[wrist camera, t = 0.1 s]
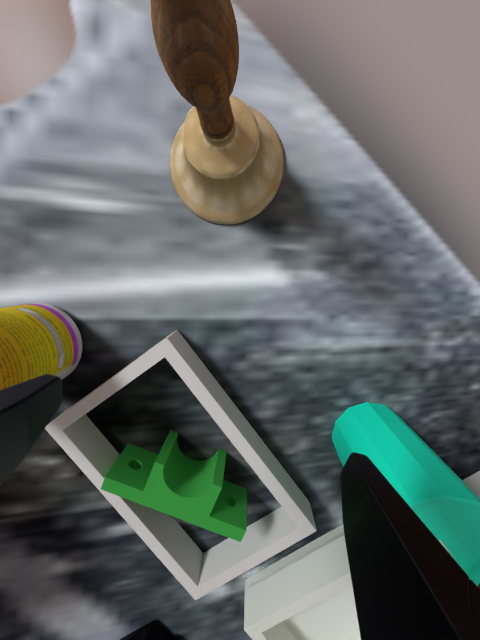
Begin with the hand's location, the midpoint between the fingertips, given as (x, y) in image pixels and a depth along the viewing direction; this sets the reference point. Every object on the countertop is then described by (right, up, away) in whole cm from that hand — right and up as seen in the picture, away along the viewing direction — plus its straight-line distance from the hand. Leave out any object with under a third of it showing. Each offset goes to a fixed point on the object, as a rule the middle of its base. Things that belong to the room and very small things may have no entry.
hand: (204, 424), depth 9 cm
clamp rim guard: (-3, -9, +17) cm, 20 cm away
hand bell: (0, +14, +13) cm, 20 cm away
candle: (+12, -7, +17) cm, 21 cm away
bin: (+10, -22, +19) cm, 31 cm away
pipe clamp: (-3, -9, +18) cm, 20 cm away
